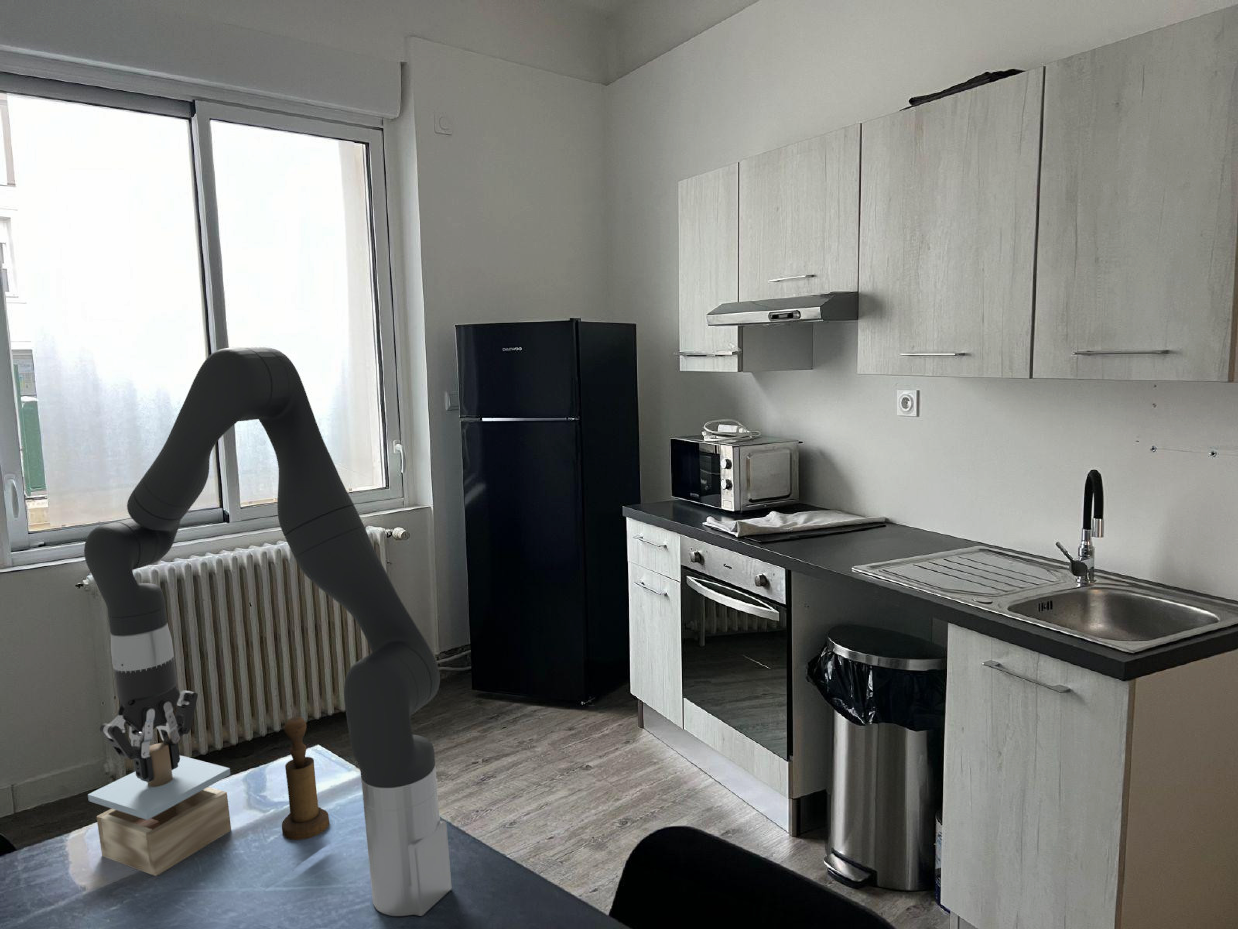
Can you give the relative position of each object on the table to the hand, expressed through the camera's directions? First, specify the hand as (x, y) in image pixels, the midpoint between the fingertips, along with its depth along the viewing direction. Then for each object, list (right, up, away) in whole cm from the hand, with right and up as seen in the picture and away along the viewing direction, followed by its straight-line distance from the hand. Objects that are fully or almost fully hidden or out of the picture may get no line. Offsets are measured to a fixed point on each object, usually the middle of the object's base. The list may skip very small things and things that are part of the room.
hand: (159, 773), depth 122 cm
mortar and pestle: (+20, -11, +4) cm, 23 cm away
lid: (0, -2, 0) cm, 2 cm away
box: (0, -12, +2) cm, 12 cm away
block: (-3, -11, +1) cm, 11 cm away
